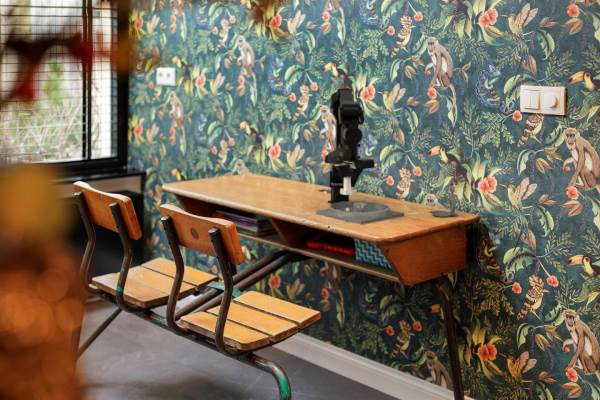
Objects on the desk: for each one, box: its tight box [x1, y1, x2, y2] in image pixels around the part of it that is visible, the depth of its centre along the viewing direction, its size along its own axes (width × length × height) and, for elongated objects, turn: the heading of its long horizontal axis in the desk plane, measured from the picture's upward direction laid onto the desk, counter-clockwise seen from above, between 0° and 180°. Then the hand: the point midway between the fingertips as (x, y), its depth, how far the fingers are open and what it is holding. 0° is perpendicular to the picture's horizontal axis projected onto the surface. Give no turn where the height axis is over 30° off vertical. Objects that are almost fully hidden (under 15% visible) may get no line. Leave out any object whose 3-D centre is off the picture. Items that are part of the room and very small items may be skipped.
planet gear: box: [340, 177, 358, 196], centre depth 272 cm, size 6×6×6 cm
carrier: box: [315, 207, 405, 225], centre depth 278 cm, size 22×22×3 cm
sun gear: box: [353, 202, 367, 212], centre depth 277 cm, size 5×5×3 cm
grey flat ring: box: [329, 200, 391, 218], centre depth 278 cm, size 21×21×2 cm
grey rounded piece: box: [431, 188, 457, 218], centre depth 277 cm, size 8×8×10 cm
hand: (348, 186), depth 272 cm, fingers closed on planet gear, 3 cm apart
